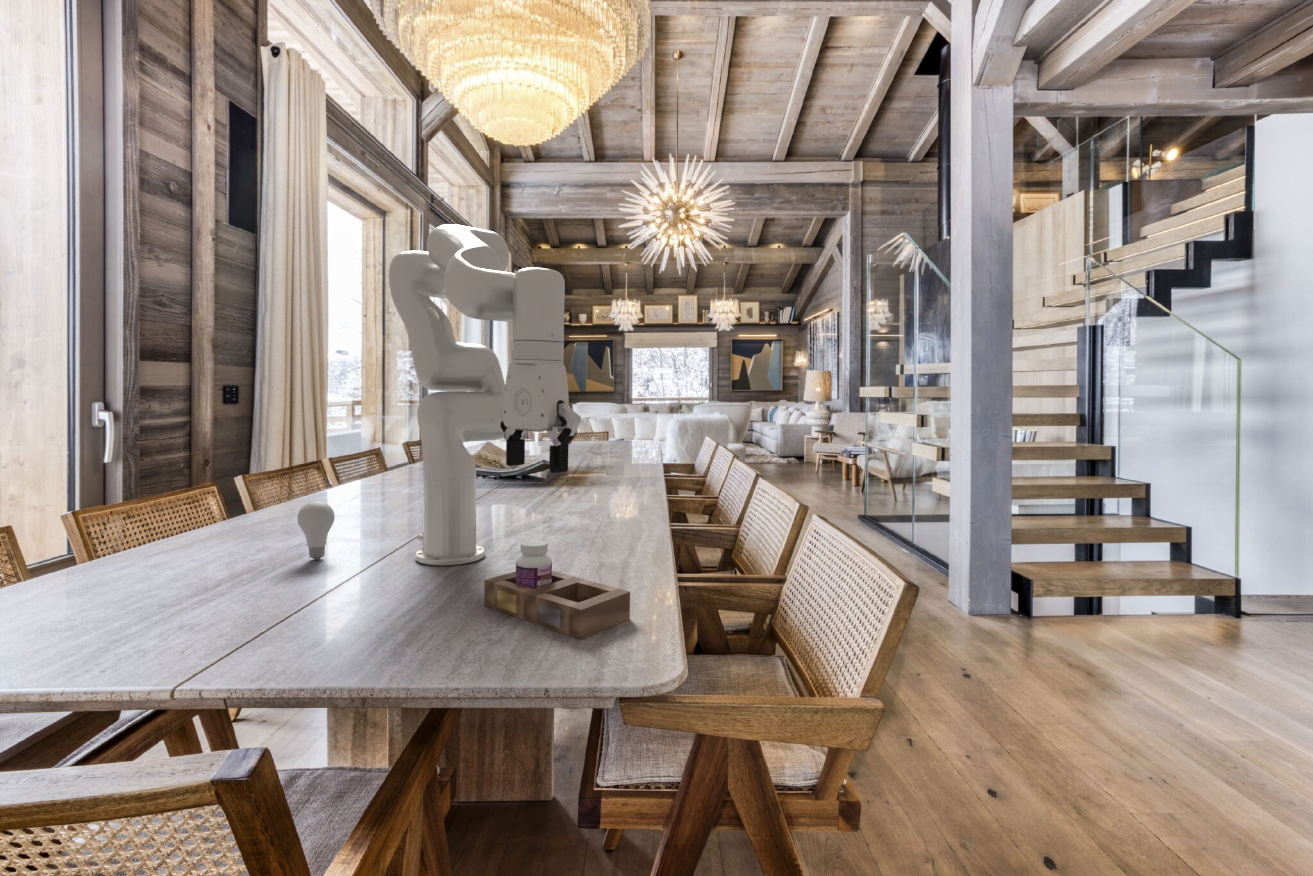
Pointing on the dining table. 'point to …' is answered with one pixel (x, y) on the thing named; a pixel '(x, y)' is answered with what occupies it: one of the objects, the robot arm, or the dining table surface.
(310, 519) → the lightbulb
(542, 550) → the pill bottle
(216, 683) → the dining table surface
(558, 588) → the socket block
